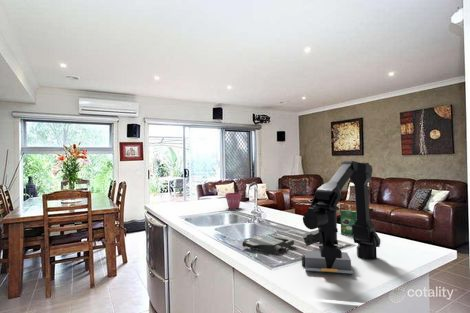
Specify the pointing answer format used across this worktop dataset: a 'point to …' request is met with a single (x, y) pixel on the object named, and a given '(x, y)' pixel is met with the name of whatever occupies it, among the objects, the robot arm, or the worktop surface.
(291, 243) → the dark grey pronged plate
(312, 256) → the cabinet housing
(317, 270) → the door
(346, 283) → the worktop surface
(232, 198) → the plant pot
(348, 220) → the coffee box
